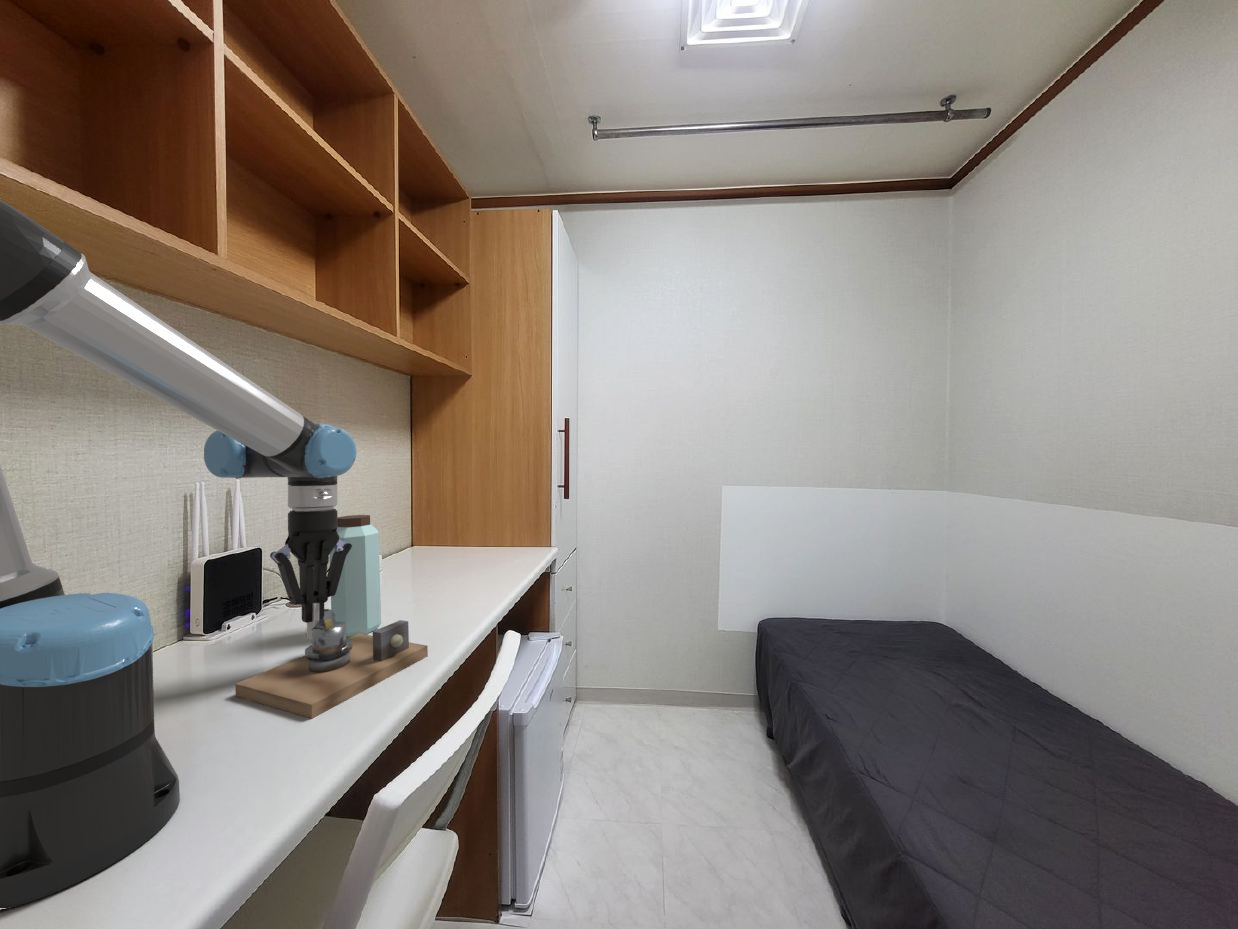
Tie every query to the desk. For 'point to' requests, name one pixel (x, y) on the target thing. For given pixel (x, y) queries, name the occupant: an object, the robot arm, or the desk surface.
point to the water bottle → (358, 577)
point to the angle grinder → (328, 639)
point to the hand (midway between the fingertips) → (313, 638)
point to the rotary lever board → (334, 673)
